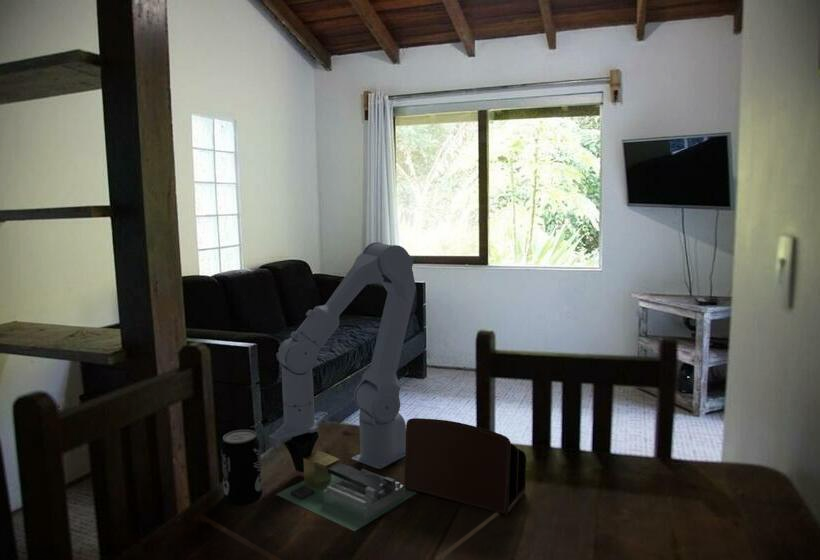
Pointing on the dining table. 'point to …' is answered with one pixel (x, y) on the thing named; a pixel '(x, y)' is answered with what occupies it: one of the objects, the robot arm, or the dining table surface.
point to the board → (314, 502)
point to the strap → (357, 477)
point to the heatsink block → (363, 497)
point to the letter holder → (463, 464)
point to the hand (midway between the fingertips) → (301, 469)
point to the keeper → (318, 468)
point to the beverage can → (241, 467)
